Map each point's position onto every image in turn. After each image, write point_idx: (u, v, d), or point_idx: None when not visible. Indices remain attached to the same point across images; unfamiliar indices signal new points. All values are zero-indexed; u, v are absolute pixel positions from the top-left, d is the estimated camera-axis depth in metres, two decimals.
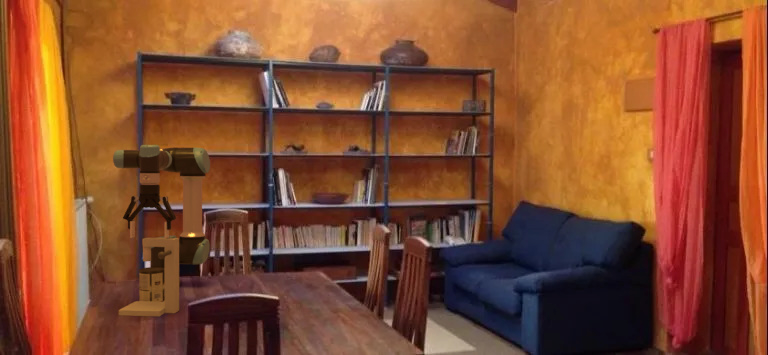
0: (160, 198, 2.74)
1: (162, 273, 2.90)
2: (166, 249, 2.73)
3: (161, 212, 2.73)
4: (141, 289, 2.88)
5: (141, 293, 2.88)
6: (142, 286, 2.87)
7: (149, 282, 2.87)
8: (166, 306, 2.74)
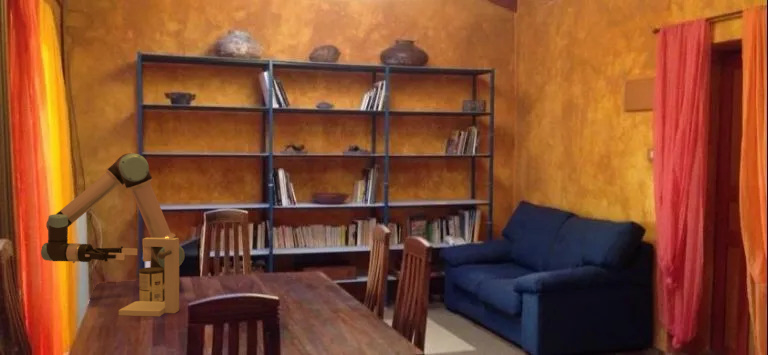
0: None
1: (162, 273, 2.90)
2: (166, 249, 2.73)
3: (101, 258, 2.87)
4: (141, 289, 2.88)
5: (141, 293, 2.88)
6: (142, 286, 2.87)
7: (149, 282, 2.87)
8: (166, 306, 2.74)
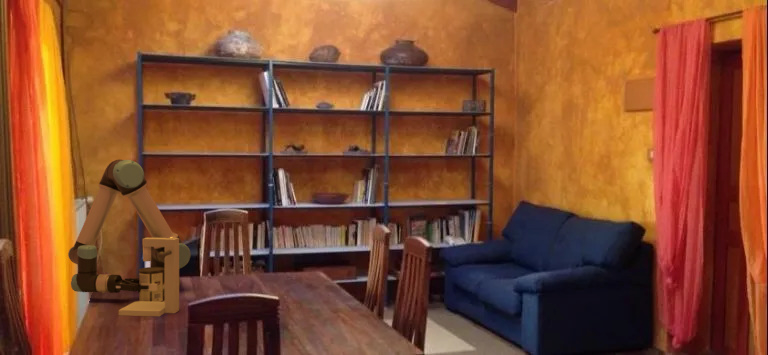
0: None
1: (162, 273, 2.90)
2: (166, 249, 2.73)
3: None
4: None
5: (141, 293, 2.88)
6: None
7: (149, 282, 2.87)
8: (166, 306, 2.74)
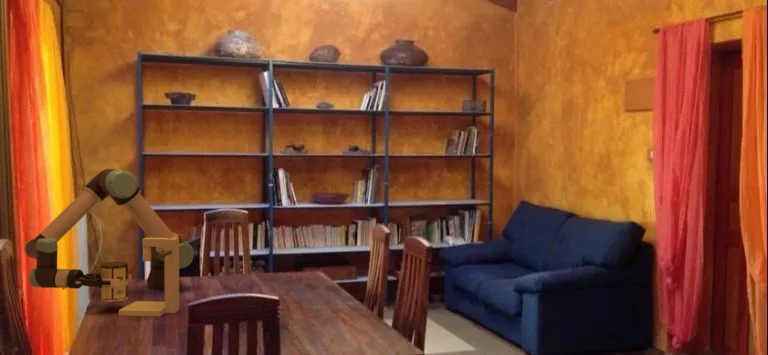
0: None
1: (125, 268, 2.75)
2: (166, 249, 2.73)
3: (94, 284, 2.73)
4: (102, 285, 2.73)
5: (102, 289, 2.73)
6: None
7: (110, 277, 2.72)
8: (166, 306, 2.74)
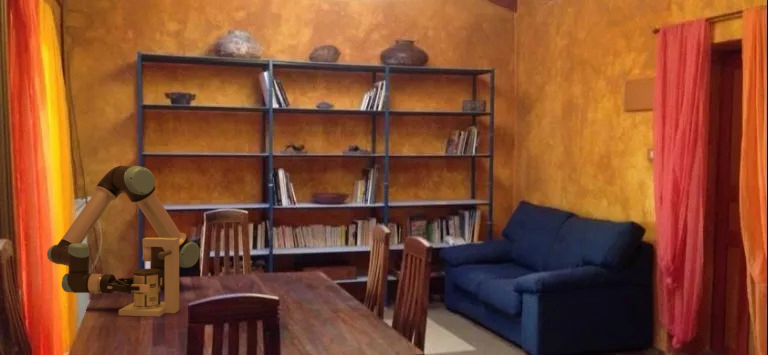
0: None
1: (158, 275, 2.75)
2: (166, 249, 2.73)
3: None
4: (135, 292, 2.73)
5: (135, 296, 2.73)
6: None
7: (143, 284, 2.71)
8: (166, 306, 2.74)
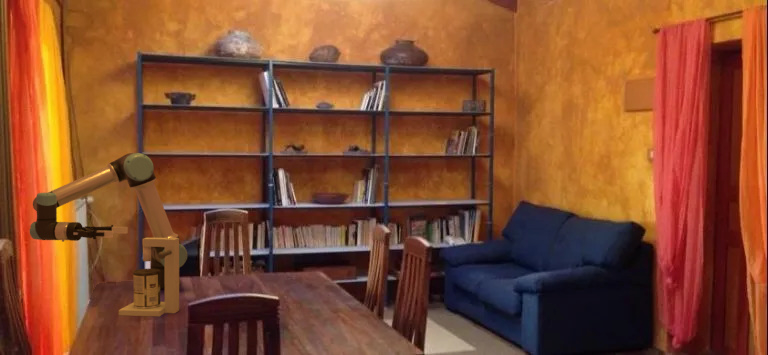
0: None
1: (157, 275, 2.75)
2: (166, 249, 2.73)
3: None
4: (135, 292, 2.73)
5: (135, 296, 2.73)
6: (136, 289, 2.72)
7: (143, 284, 2.71)
8: (166, 306, 2.74)
